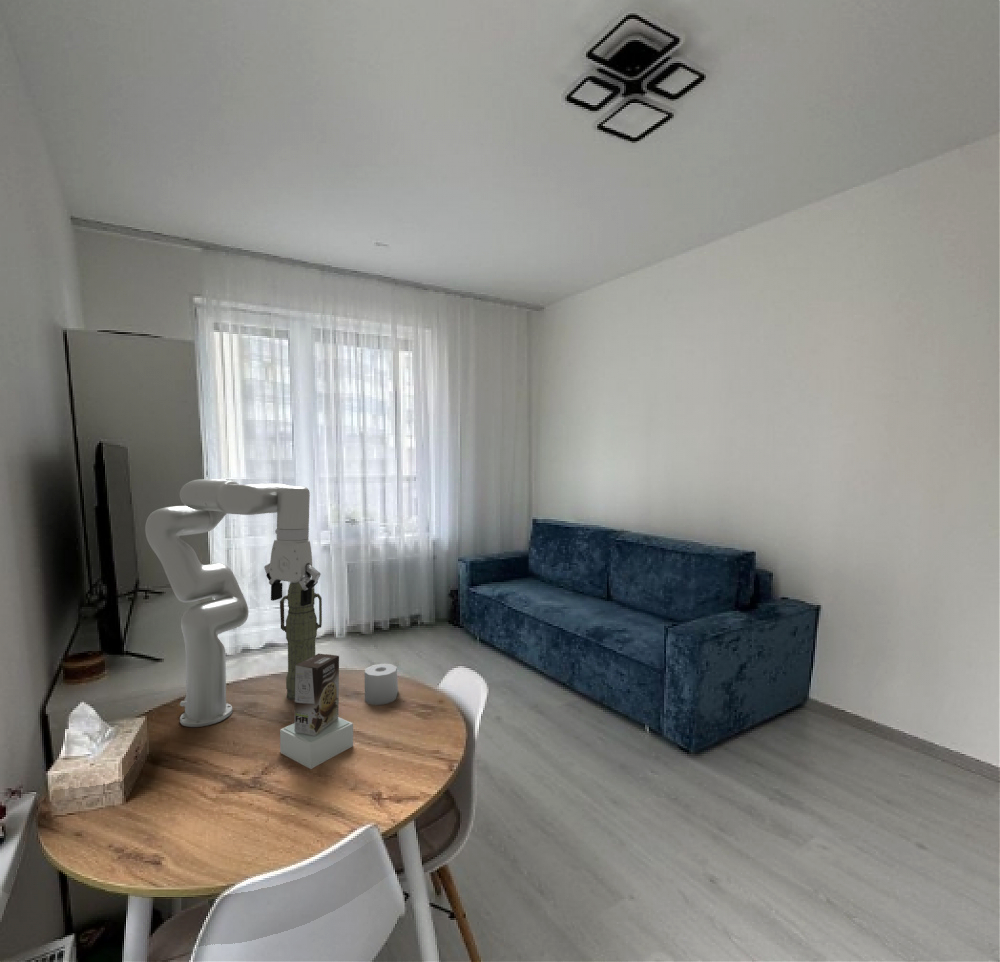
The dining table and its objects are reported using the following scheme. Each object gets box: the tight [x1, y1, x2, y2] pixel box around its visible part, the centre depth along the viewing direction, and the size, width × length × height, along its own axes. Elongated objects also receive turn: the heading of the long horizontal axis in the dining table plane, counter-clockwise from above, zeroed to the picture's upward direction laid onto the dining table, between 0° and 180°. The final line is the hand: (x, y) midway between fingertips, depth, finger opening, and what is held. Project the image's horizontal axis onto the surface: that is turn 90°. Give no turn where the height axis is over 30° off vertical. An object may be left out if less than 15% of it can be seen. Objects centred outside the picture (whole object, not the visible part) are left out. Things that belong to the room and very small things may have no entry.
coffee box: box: [294, 652, 340, 736], centre depth 124 cm, size 9×6×16 cm
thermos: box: [279, 581, 323, 701], centre depth 156 cm, size 9×12×35 cm
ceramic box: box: [279, 716, 354, 770], centre depth 125 cm, size 12×12×6 cm
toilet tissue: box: [364, 663, 399, 706], centre depth 155 cm, size 9×13×9 cm
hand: (291, 602), depth 130 cm, fingers open, 9 cm apart
